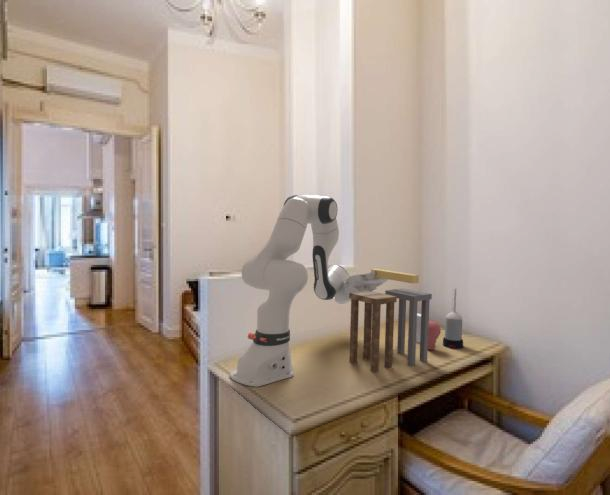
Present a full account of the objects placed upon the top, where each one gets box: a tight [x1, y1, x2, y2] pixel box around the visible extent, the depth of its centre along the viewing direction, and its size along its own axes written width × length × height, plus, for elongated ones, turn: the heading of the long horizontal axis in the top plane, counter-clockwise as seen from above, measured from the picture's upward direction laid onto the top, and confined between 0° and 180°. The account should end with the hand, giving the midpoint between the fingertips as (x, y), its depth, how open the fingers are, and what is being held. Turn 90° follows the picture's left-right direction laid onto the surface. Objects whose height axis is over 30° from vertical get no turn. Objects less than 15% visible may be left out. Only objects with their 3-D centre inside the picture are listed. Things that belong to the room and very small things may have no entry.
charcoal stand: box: [384, 288, 433, 367], centre depth 149 cm, size 14×10×26 cm
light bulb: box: [428, 320, 442, 351], centre depth 161 cm, size 7×7×12 cm
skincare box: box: [416, 312, 421, 344], centre depth 173 cm, size 6×4×12 cm
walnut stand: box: [349, 290, 398, 374], centre depth 142 cm, size 14×10×26 cm
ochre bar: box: [370, 268, 419, 284], centre depth 154 cm, size 22×3×3 cm, turn 35°
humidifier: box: [442, 288, 464, 350], centre depth 167 cm, size 8×8×25 cm
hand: (379, 272), depth 160 cm, fingers closed on ochre bar, 3 cm apart
